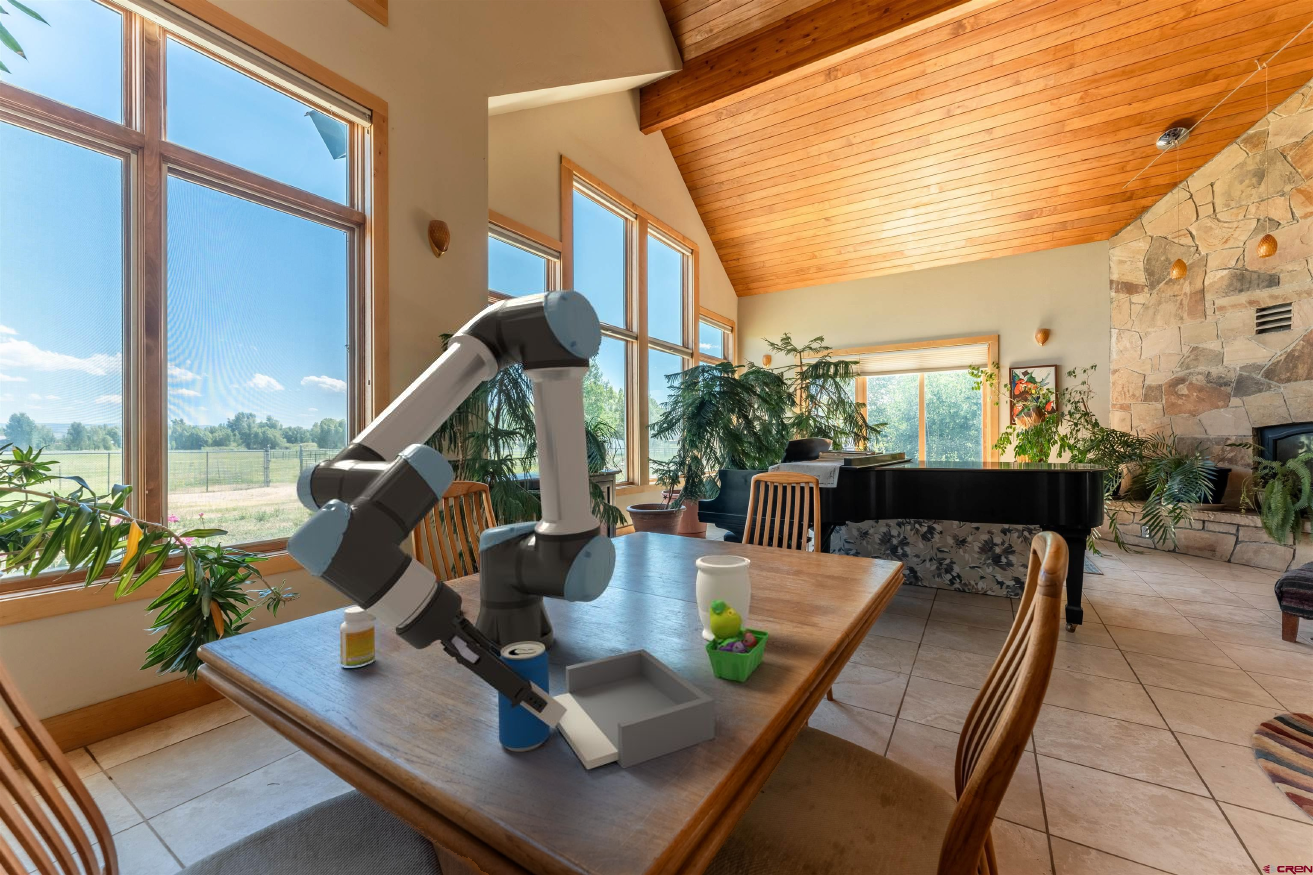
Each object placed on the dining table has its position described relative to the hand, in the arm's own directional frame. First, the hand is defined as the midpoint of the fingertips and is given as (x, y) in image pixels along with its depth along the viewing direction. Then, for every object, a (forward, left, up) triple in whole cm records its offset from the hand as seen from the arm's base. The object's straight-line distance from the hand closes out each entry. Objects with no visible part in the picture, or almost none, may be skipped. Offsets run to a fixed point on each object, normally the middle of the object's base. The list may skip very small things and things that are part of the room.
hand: (550, 705), depth 74 cm
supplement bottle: (-40, -23, -4) cm, 46 cm away
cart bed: (+2, +10, -4) cm, 10 cm away
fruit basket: (-4, +33, -4) cm, 34 cm away
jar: (-17, +40, -4) cm, 44 cm away
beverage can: (0, -4, -4) cm, 5 cm away
